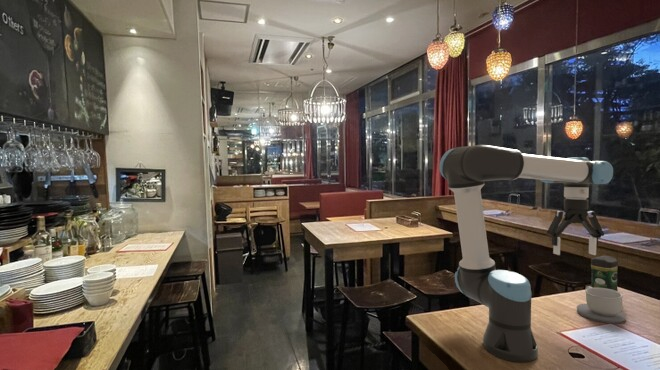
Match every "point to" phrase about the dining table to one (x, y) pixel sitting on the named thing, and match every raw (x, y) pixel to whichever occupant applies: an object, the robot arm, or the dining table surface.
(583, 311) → the charcoal plate
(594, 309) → the teacup
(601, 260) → the coffee jar
